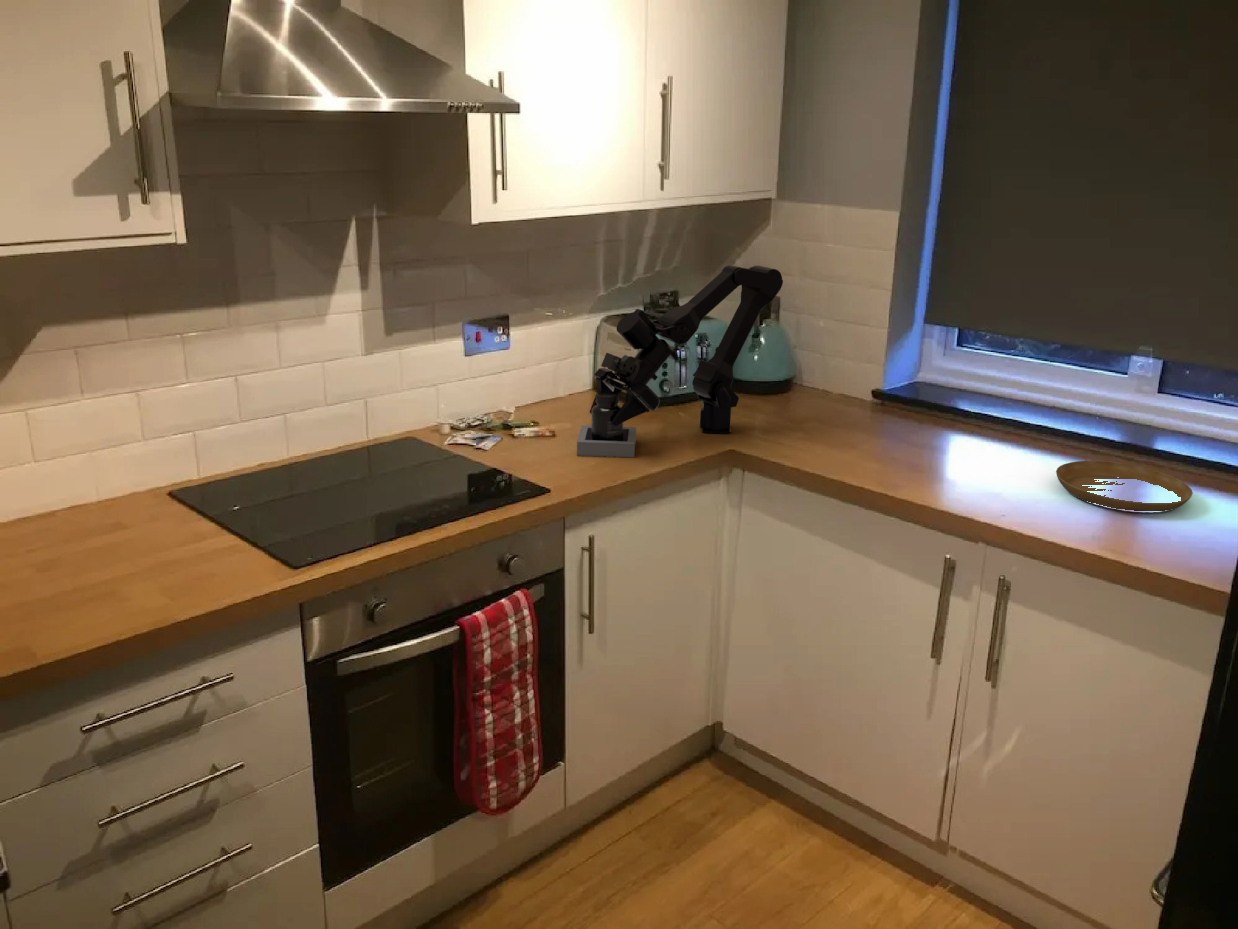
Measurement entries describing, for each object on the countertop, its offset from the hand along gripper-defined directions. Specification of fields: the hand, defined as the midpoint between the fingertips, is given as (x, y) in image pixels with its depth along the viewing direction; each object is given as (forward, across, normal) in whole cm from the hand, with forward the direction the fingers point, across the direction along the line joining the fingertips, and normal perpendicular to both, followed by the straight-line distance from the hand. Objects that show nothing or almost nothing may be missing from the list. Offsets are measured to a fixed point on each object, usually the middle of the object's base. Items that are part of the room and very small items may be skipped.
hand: (601, 419), depth 223 cm
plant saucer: (-48, +72, +58) cm, 104 cm away
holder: (+4, 0, +6) cm, 7 cm away
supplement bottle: (+4, 0, +6) cm, 7 cm away
